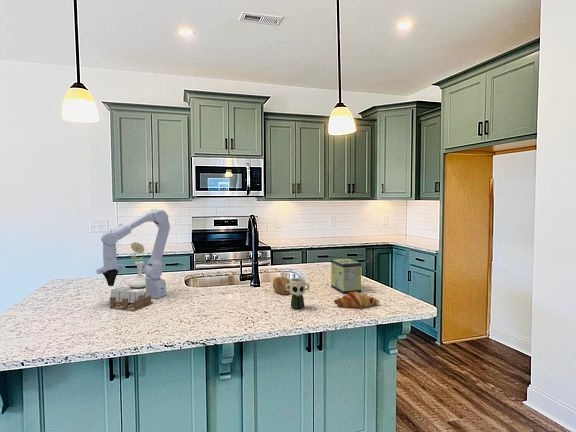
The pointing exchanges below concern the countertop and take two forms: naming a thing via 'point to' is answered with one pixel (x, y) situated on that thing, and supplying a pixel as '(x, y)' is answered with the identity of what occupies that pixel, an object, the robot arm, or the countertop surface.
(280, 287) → the bread roll
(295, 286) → the character mug
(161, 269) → the robot arm
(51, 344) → the countertop surface
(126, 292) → the syrup box
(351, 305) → the croissant
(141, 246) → the flower in vase
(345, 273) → the protein box
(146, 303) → the rest
